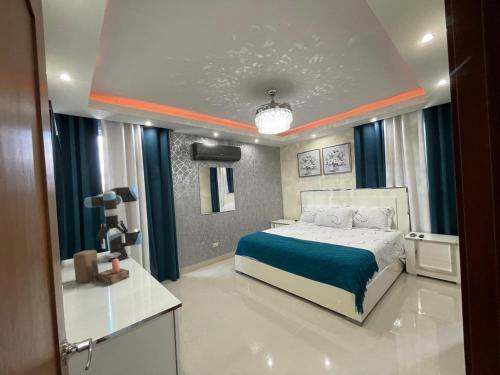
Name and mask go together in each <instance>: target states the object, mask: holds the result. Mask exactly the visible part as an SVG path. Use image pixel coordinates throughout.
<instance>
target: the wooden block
mask: <svg viewBox="0 0 500 375" xmlns="http://www.w3.org/2000/svg"><path fill="white" fill-rule="evenodd" d="M97 251H98V250H96V249H90V250H89V249H88V250H87V249H86V250H82V251H80V252H77V253H74V254H73V265H74V266H73V268H74V278H75V279H74V280H75V282H76V283H81V284H82V283H84V284H85V283H89V282H91V281H93V270H92V259H94V258H98V252H97ZM98 263H99V262H98ZM98 263H97V273H100V272H99V264H98Z"/></svg>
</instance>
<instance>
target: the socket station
mask: <svg viewBox="0 0 500 375" xmlns="http://www.w3.org/2000/svg"><path fill="white" fill-rule="evenodd" d="M119 255H121V253H117V252H114V253H111V254H110V253H107V254H105V255H101V256H97V258H94V259H92V270H93V280H92V281H93V282H94V283H96V282H98V281H99V282H102V283H104V284H108V285H114V284H116V283H120V282H122V281H124V280H127V279H129V278H130V270H129V269H125V268H120V267H119V270H120V273H118V274H115V275H113V269H112V268H109V269H106V270H104V271H101V272H99V273H97V263H100V262H104V261H107V260H108V259H110V258H113V259H117V256H119Z"/></svg>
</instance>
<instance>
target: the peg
mask: <svg viewBox="0 0 500 375" xmlns="http://www.w3.org/2000/svg"><path fill="white" fill-rule="evenodd" d="M111 266H112V267H111V269H113V275H115V274H118V273H120V270H119V268H120V261H119V259H113V260H112V262H111Z"/></svg>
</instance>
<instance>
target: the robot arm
mask: <svg viewBox="0 0 500 375" xmlns="http://www.w3.org/2000/svg"><path fill="white" fill-rule="evenodd" d="M139 196H140V195H139V191H138V188H137V187H135V186H122V187H113V188H111V189H108V190H105V191H104V192H103V193H100V194H97V195H95V196H87V197H85V198H84V201H83V202H84V206H85V208H90V209H91V208H99V207H100V208H101V207H103V211H104V221H105V223H101V224H100V225H99V226H100V228H99V230H98V233H97V234H96V237H95V238H96V240H99V243H100V245H101V249H103V250H104V249H105V250H106V241H105V237H106V235H107V234H108V232H109V231H110V230H112V229H117V230H118V231H119V232H116V233H112V234H111V235H109V236H108V243H109V254H111V253H114V252H117V253H121V255H119V256H117V259H119V262H120V261H123V260H126V259H128V258H129V256H128V253H127V250H126V247H132V246H138V245H141V243H142V241H143V231H141V229H140V228H139V226H138V217H137V207H136V203H137V201H138V199H139ZM121 203H122V204H124V210H125V211H124V212H125V213H124V214H125V221H126V222H125V223H126V225H125V223H124V221H123V219H122V220H121V219H119V217H118V216H119V215H118V205H120V204H121ZM107 260H108V262H110V263H112V260H113V258H110V259H107Z"/></svg>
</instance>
